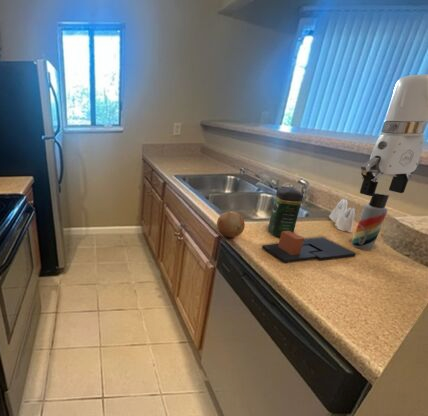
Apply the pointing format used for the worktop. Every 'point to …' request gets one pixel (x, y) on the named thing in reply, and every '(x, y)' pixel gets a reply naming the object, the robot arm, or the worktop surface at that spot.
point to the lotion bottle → (370, 222)
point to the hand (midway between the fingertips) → (381, 193)
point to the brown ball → (230, 224)
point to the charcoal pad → (327, 249)
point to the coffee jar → (285, 210)
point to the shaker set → (343, 216)
